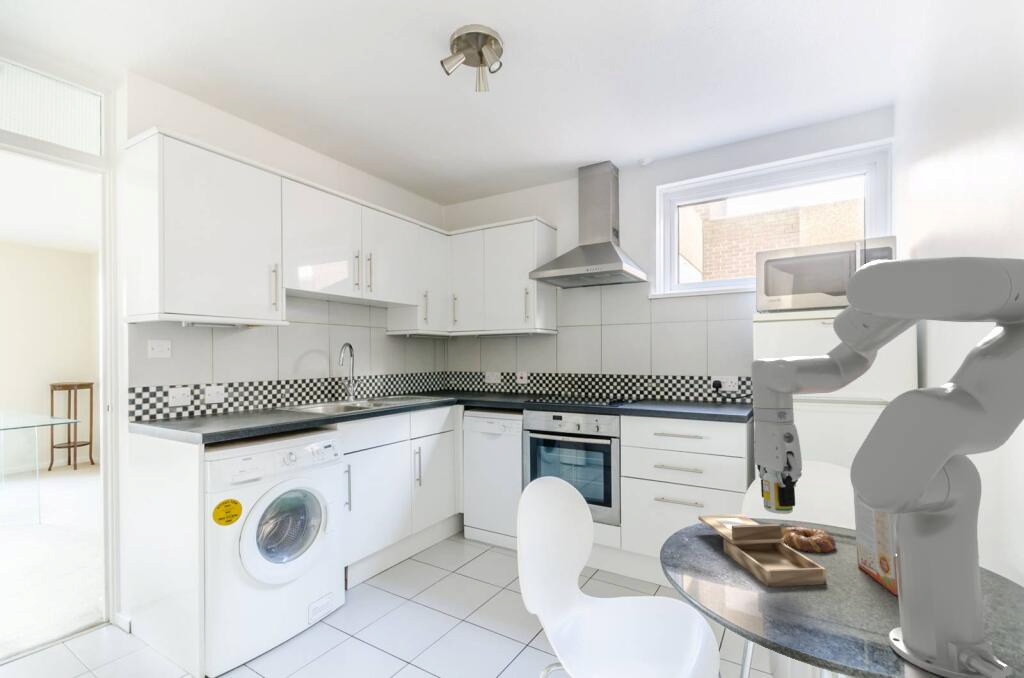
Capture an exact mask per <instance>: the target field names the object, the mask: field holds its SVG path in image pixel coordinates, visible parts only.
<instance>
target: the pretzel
mask: <svg viewBox="0 0 1024 678" xmlns="http://www.w3.org/2000/svg"><path fill="white" fill-rule="evenodd" d="M781 534H782V538H783V539H784V542H782V543H785V545H786V544H788V545H787V546H789V547H790V548H792V547H793V548H792V549H795V548H797V549H796V550H800V549H802V551H804V552H806V551H808V553H828V552H831V551H833V550H834V549H835V548H837V547H836V546H837V543H836V540H835V539H834V538H833V536H831V535H829V533H828V532H827V531H825V530H823V529H821V528H812V529H811V528H809V527H808V526H801V525H795V526H786V527H783V528H781Z"/></svg>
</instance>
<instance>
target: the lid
mask: <svg viewBox="0 0 1024 678" xmlns="http://www.w3.org/2000/svg"><path fill="white" fill-rule="evenodd" d="M697 518H698V520H699V521H700V522H702V523H703V524H705V526H707V527H709V528H710V529H711V530H713V531H714V532H715V533H717V535H720V536H721V537H722V538H723V539H726V540H728V541H729V542H730V543H732V544H757V543H781V542H784V539H783V538H782V534H781V530H782V525H781V524H779V523H766V524H759V523H758V522H756V521H754V520H752V519H751V518H749V517H747V516H746V515H744V514H722V515H721V514H719V515H717V514H716V515H700V516H699V515H698V517H697Z"/></svg>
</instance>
